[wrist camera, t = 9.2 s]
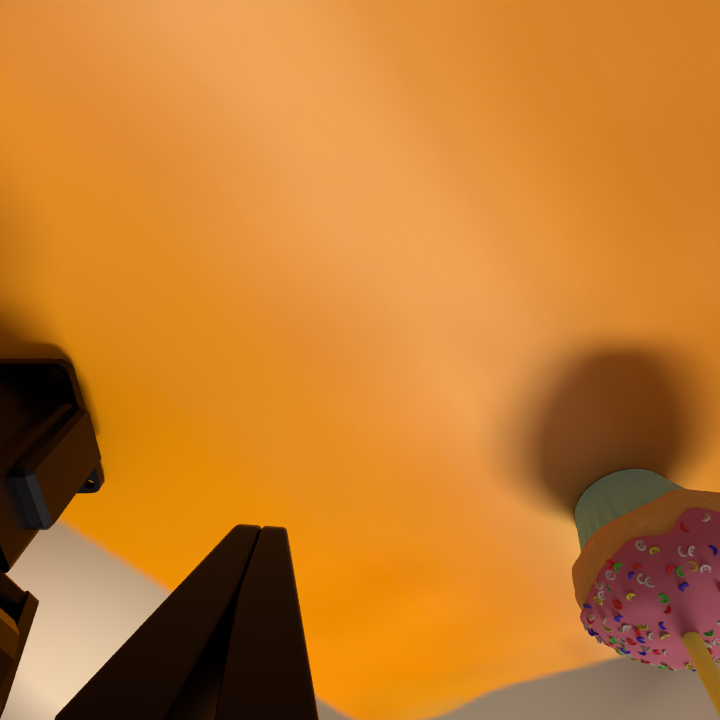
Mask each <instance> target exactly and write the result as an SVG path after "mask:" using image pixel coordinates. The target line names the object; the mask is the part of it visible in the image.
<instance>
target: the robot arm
mask: <svg viewBox="0 0 720 720" xmlns="http://www.w3.org/2000/svg"><path fill="white" fill-rule="evenodd" d="M55 369H58V370H60V371H61V372H62V374H63V376H62V375H59V374H58V373H56V371H55ZM100 460H101V455H100V452H99V448H98V444H97V441H96V437H95V433H94V430H93V426H92V422H91V419H90V415H89V412H88V411H87V410H86V408H85V407H84V403H83V399H82V396H81V392H80V389H79V385H78V381H77V378H76V374H75V371H74V368H73V366H72V365H71V364H70V363H69V362H67V361H65V360H63V359H0V718H1V715H2V713H3V710H4V708H5V705H6V702H7V699H8V696H9V693H10V690H11V687H12V684H13V681H14V678H15V674H16V671H17V668H18V665H19V662H20V659H21V656H22V653H23V650H24V646H25V644H26V641H27V637H28V635H29V631H30V628H31V625H32V622H33V619H34V616H35V612H36V610H37V607H38V603H39V601H38V600H37V599H36V598H35V597H34V596H33V595H32V594H31V593H30V592H29V591H25V592H24V591H23V590H22V589H21V588H20V587H19V586H18V585H17V584H16V583H14V582H13V581H12V580H11V579H10V578H9V577H8V576H7V575H6V574H5V573H7V572H8V571H9V570H10V569H11V568H12V566H13V565H14V563H15V562H16V561H17V560H18V558H19V557H20V555H21V554H22V553H23V552H24V550H25V549H26V547H27V546H28V545H29V543H30V542H31V541H32V540H33V538H34V537H35V535H36V534H37V533H38V531H39V530H48V529H49V528H50V527H51V526H52V525H53V524H54V523H55V522H56V521H57V519H58V518H59V516H60V515H61V514H62V512H63V511H64V510H65V508H66V507H67V505H68V504H69V503H70V501H71V500H72V499H73V497H74V496H75V494H76V493H95V492H97V491H99V489H100V488H101V486H102V485H103V483H104V475H103V472H102V468H101V464H100ZM88 480H91V481H93V482H94V483H92V482H90V481H88ZM55 720H319V718H318V712H317V706H316V700H315V694H314V688H313V682H312V676H311V671H310V665H309V659H308V653H307V647H306V641H305V635H304V629H303V623H302V617H301V611H300V605H299V599H298V593H297V587H296V581H295V575H294V570H293V564H292V558H291V552H290V546H289V540H288V534H287V530H286V528H284V527H275V526H264V527H263V528H262V529H261V527H260V526H258V525H247V524H239V525H236V526H235V527H234V528H233V529H232V530H231V531H230V532H229V533H228V534H227V535H226V536H225V537H224V538H223V539H222V540H221V542H220V543H219V544H218V545H217V546H216V547H215V548H214V549H213V550H212V551H211V552H210V553H209V554H208V555H207V556H206V557H205V558H204V560H203V561H202V562H201V563H200V564H199V565H198V566H197V567H196V568H195V569H194V570H193V571H192V572H191V573H190V574H189V575H188V577H187V578H186V579H185V580H184V581H183V582H182V583H181V584H180V585H179V586H178V587H177V588H176V589H175V590H174V591H173V592H172V593H171V595H170V596H169V597H168V598H167V599H166V600H165V601H164V602H163V603H162V604H161V605H160V606H159V607H158V608H157V609H156V611H155V612H154V613H153V614H152V615H151V616H150V617H149V618H148V619H147V620H146V621H145V622H144V623H143V624H142V625H141V626H140V627H139V628H138V630H137V631H136V632H135V633H134V634H133V635H132V636H131V637H130V638H129V639H128V640H127V641H126V642H125V643H124V644H123V645H122V647H121V648H120V649H119V650H118V651H117V652H116V653H115V654H114V655H113V656H112V657H111V658H110V659H109V660H108V661H107V662H106V663H105V664H104V666H103V667H102V668H101V669H100V670H99V671H98V672H97V673H96V674H95V675H94V676H93V677H92V678H91V679H90V680H89V681H88V683H87V684H86V685H85V686H84V687H83V688H82V689H81V690H80V691H79V692H78V693H77V694H76V695H75V697H74V698H72V699H71V701H70V702H69V703H68V704H67V705H66V706H65V707H64V708H63V709H62V710H61V711H60V712H59V713H58V715H56V717H55Z"/></svg>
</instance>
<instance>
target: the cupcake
mask: <svg viewBox="0 0 720 720" xmlns="http://www.w3.org/2000/svg"><path fill="white" fill-rule="evenodd" d="M575 523H576V527H577V532H578V537H579V542H580V548H581V554H580V556H579V557H578V559H577V560H576V562H575V563H574V565H573V567H572V578H573V584H574V588H575V597H576V600H577V603H578V605H579V607H580V608H581V610H582V612H581V615H580V619H581V621H582V623H583V625H584V629H585V631H587V630H588V633H589V634H590V635H591V636H595V637H596V639H597V641H598V643H599V644H601V642H602V643H604V644H605V645H607V646H609V647H612V648H613V649H615V650H616V652H617V653H618V654H620V655H625V656H626V657H628V658H630V659H631V660H633V661H637V660H640V661H641V662H642V663H649V664H651V665H652V666H654V667H659V668H663V669H664V668H665V667H666V668H668V669H670V670H672V671H675V672H676V670H677V669H676V668H680V669H692V671H696V670H697V672H698V674H699V676H700V678H701V680H702V682H703V684H704V686H705V688H706V690H707V692H708V694H709V696H710V698H711V700H712V702H713V704H714V706H715V708H716V710H717V712H718V714H719V716H720V672H719V670H718V668H717V666H716V664H715V662H720V493H718V492H708V491H697V490H688V489H685V488H683V487H681V486H679V485H677V484H675V483H673V482H671V481H669V480H668V479H666V478H664V477H662V476H661V475H659V474H657V473H655V472H652V471H649V470H644V469H626V470H621V471H617V472H614V473H611V474H609V475H606V476H604V477H602V478H601V479H599V480H597V481H596V482H595V483H593V484H592V485H591V486H590V487H589V488H588V489H587V490H586V491H585V492H584V493H583V494H582V496H581V497H580V499H579V501H578V503H577V505H576V509H575ZM599 640H600V641H599ZM633 658H634V659H633Z"/></svg>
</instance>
